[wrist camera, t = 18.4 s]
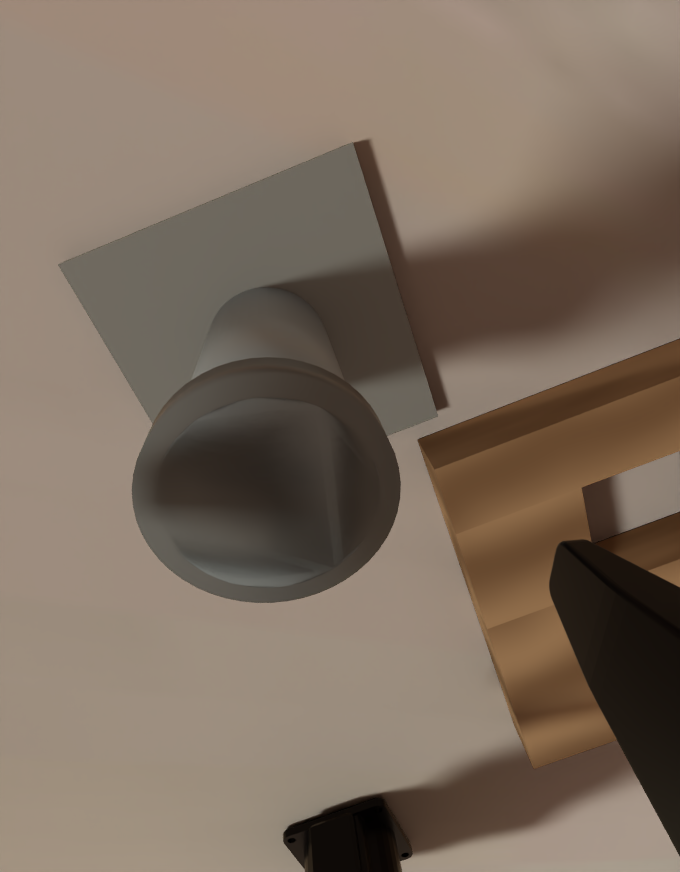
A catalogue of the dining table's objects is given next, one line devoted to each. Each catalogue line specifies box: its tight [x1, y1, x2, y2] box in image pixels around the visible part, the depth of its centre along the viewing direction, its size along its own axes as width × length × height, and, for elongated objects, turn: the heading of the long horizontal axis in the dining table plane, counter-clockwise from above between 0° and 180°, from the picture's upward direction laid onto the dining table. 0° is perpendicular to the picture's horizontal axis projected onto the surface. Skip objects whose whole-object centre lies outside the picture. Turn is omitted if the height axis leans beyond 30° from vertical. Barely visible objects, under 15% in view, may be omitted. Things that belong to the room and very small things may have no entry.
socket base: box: [418, 339, 680, 769], centre depth 25 cm, size 20×16×2 cm
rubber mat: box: [58, 142, 438, 436], centre depth 19 cm, size 10×10×1 cm
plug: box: [132, 287, 401, 603], centre depth 15 cm, size 5×5×10 cm
